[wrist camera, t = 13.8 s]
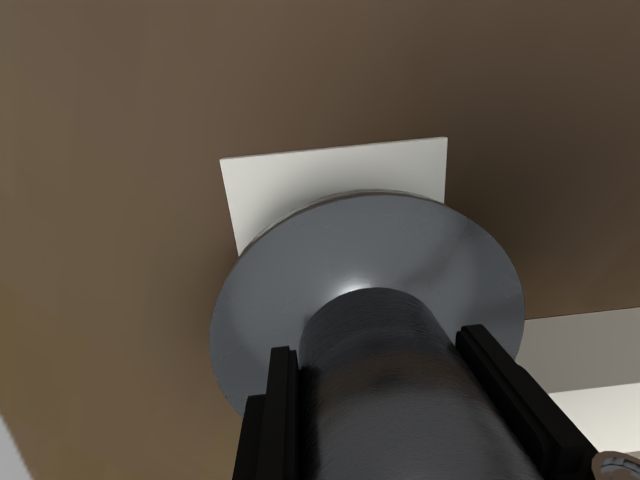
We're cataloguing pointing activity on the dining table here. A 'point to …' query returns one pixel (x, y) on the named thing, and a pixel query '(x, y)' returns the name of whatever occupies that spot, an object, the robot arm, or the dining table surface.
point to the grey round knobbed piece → (376, 336)
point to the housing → (590, 372)
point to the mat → (326, 178)
